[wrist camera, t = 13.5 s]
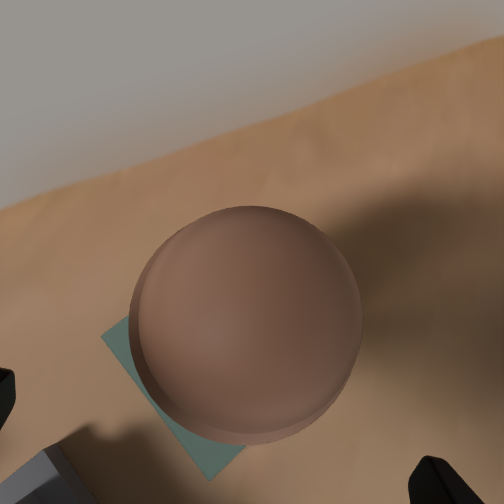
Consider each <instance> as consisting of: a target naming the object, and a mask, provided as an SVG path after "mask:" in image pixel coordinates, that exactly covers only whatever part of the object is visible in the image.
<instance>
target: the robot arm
mask: <svg viewBox="0 0 504 504" xmlns="http://www.w3.org/2000/svg"><path fill="white" fill-rule="evenodd" d="M15 400H16V390H15V374H14V372H13V371H12V370H10V369H6V368H1V367H0V430H1V428H2V427H3V425H4V423H5V421H6V420H7V418H8V416H9V414H10V412H11V411H12V409H13V407H14V404H15ZM408 491H409V498H410V504H484V503H483V501H482V500H481V499H480V498H479V497H478V496H477V495H476V494H475V492H474V491H473V490H472V489H471V488H470V487H469V486H468V485H467V484H466V482H465V481H464V480H463V479H462V478H461V477H460V476H459V475H458V474H457V472H456V471H455V470H454V469H453V468H452V467H451V466H450V465H449V463H447V462H446V461H445V460H444V459H442V458H438V457H433V456H424V457H423V458H422V459H421V460H420V462H419V463H418V465H417V466H416V468H415V470H414V471H413V473H412V474H411V476H410V478H409V482H408Z"/></svg>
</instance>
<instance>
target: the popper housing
mask: <svg viewBox="0 0 504 504" xmlns="http://www.w3.org/2000/svg"><path fill="white" fill-rule="evenodd" d="M0 504H98V503H97V501H96V500H95V498H94V497H93V496H92V494H91V493H90V491H89V490H88V488H87V487H86V485H85V484H84V482H83V481H82V480H81V478H80V477H79V475H78V474H77V472H76V471H75V469H74V468H73V466H72V465H71V464H70V462H69V461H68V459H67V458H66V456H65V455H64V453H63V452H62V450H61V449H60V448H59V446H58V445H57V443H55V444H53V445H51V446H49V447H47V448H45V449H43V450H41V451H40V452H39V453H38V454H37V455H35V456H34V457H33V458H32V459H30V460H29V461H28V462H27V463H25V464H24V465H23V466H22V467H20V468H19V469H18V470H17V471H16V472H14V473H13V474H12V475H11V476H9V477H8V478H7V479H6V480H4V481H3V482H2V483H1V484H0Z"/></svg>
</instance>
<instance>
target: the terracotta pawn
mask: <svg viewBox="0 0 504 504" xmlns="http://www.w3.org/2000/svg"><path fill="white" fill-rule="evenodd" d="M362 330H363V309H362V302H361V296H360V292H359V288H358V285H357V282H356V279H355V277H354V274H353V272H352V270H351V268H350V266H349V264H348V262H347V261H346V259H345V258H344V256H343V254H342V253H341V252H340V250H339V249H338V248H337V247H336V245H335V244H334V243H333V242H332V241H331V240H330V239H329V238H328V237H327V236H326V235H325V234H324V233H323V232H321V231H320V230H319V229H318V228H316V227H315V226H314V225H312V224H310V223H309V222H307V221H306V220H304V219H302V218H300V217H298V216H295V215H293V214H291V213H288V212H285V211H282V210H279V209H274V208H269V207H261V206H238V207H232V208H226V209H223V210H219V211H216V212H213V213H211V214H208V215H206V216H204V217H201V218H200V219H198V220H196V221H195V222H193V223H191V224H189V225H187V226H186V227H184V228H182V229H181V230H179V231H178V232H176V233H175V234H174V235H172V236H171V237H170V238H169V239H167V240H166V241H165V242H164V243H163V244H162V245H161V246H160V247H159V248H158V249H157V250H156V252H155V253H154V254H153V256H152V257H151V258H150V260H149V261H148V262H147V264H146V266H145V268H144V269H143V271H142V273H141V275H140V277H139V279H138V282H137V284H136V286H135V289H134V292H133V296H132V300H131V304H130V311H129V319H128V336H129V343H130V350H131V354H132V358H133V362H134V365H135V368H136V370H137V373H138V375H139V377H140V380H141V382H142V384H143V385H144V387H145V389H146V390H147V392H148V393H149V395H150V397H151V398H152V399H153V400H154V402H155V403H156V404H157V405H158V406H159V408H160V409H161V410H162V411H163V412H164V413H166V414H167V415H168V416H169V417H170V418H171V419H172V420H173V421H175V422H176V423H178V424H179V425H181V426H182V427H183V428H185V429H186V430H188V431H190V432H192V433H194V434H196V435H198V436H201V437H203V438H206V439H209V440H212V441H215V442H218V443H224V444H231V445H258V444H266V443H270V442H274V441H277V440H281V439H284V438H286V437H289V436H291V435H293V434H295V433H298V432H299V431H301V430H303V429H304V428H306V427H307V426H309V425H310V424H312V423H313V422H314V421H316V420H317V419H318V418H319V417H320V416H321V415H323V414H324V413H325V412H326V411H327V409H328V408H329V407H330V406H331V405H332V404H333V403H334V402H335V400H336V399H337V397H338V396H339V394H340V393H341V391H342V390H343V388H344V386H345V384H346V382H347V380H348V378H349V376H350V373H351V370H352V368H353V365H354V363H355V360H356V357H357V354H358V351H359V348H360V343H361V338H362Z"/></svg>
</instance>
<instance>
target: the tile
mask: <svg viewBox="0 0 504 504" xmlns="http://www.w3.org/2000/svg"><path fill="white" fill-rule="evenodd" d="M128 319H129V315H128V316H127V317H125V318H124V319H123V320H121V321H120V322H119V323H117V324H116V325H115V326H113V327H112V328H111V329H109V330H108V331H107V332H105V333H104V334H103V335H101V338H102V339H103V340H104V342H105V343H106V344H107V346H108V347H109V348H110V350H111V351H112V352H113V354H114V355H115V356H116V358H117V359H118V360H119V362H120V363H121V364H122V366H123V367H124V368H125V370H126V371H127V372H128V374H129V375H130V376H131V378H132V379H133V380H134V382H135V383H136V384H137V386H138V387H139V388H140V390H141V391H142V392H143V394H144V395H145V396H146V398H147V399H148V400H149V402H150V403H151V404H152V406H153V407H154V408H155V410H156V411H157V412H158V414H159V415H160V416H161V418H162V419H163V420H164V422H165V423H166V424H167V426H168V427H169V429H170V430H171V431H172V433H173V434H174V435H175V437H176V438H177V439H178V441H179V442H180V443H181V445H182V446H183V447H184V449H185V450H186V451H187V453H188V454H189V455H190V457H191V458H192V459H193V461H194V462H195V463H196V465H197V466H198V467H199V469H200V470H201V471H202V473H203V474H204V475H205V477H206V478H207V479H208V481H210V480H211V479H212V478H213V477H214V476H215V475H216V474H217V473H218V472H219V471H220V470H221V469H223V468H224V467H225V466H226V465H227V464H228V463H229V462H230V461H231V460H232V459H233V458H234V457H235V456H236V455H237V454H238V453H239V452H240V451H241V450H242V449H243V448H244V447H245V446H246V445H231V444H224V443H218V442H215V441H212V440H209V439H206V438H203V437H201V436H198V435H196V434H194V433H192V432H190V431H188V430H186V429H185V428H183V427H182V426H181V425H179V424H178V423H176V422H175V421H173V420H172V419H171V418H170V417H169V416H168V415H167V414H166V413H164V412H163V411H162V410H161V409H160V408H159V406H158V405H157V404H156V403H155V402H154V400H153V399H152V398H151V397H150V395H149V393H148V392H147V390H146V389H145V387H144V385H143V384H142V382H141V380H140V377H139V375H138V373H137V370H136V368H135V365H134V362H133V358H132V354H131V350H130V343H129V336H128Z"/></svg>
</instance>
